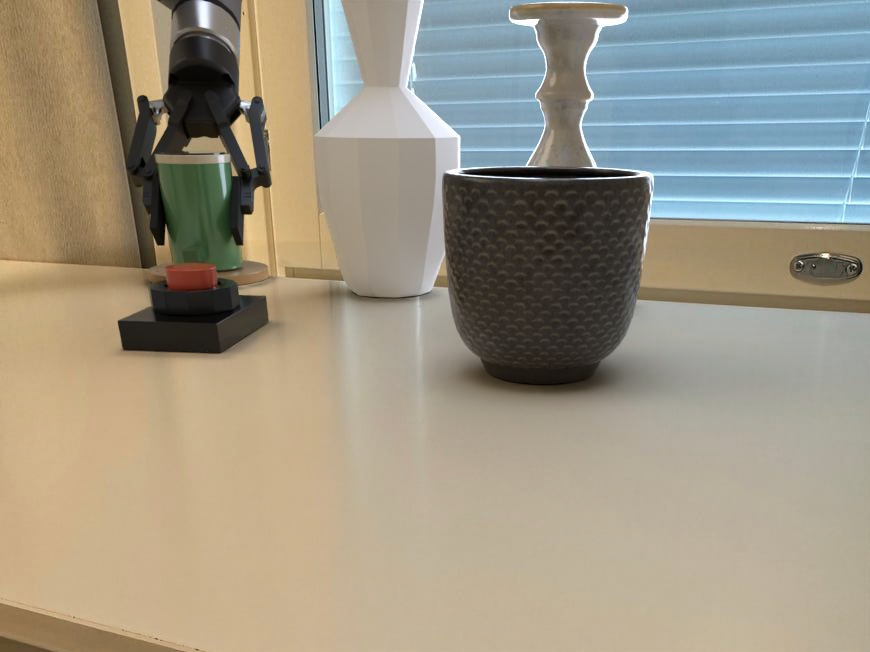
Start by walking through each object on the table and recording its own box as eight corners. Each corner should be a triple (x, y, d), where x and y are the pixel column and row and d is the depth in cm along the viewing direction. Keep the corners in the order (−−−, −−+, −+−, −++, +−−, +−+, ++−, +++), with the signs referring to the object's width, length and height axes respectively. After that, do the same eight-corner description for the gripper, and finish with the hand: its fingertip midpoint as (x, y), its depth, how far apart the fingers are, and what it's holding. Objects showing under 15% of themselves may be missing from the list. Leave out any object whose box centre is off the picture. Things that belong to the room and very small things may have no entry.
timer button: (160, 293, 71) (156, 269, 70) (180, 284, 74) (176, 262, 73) (208, 294, 71) (204, 271, 70) (226, 286, 74) (223, 263, 73)
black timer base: (122, 349, 70) (111, 296, 68) (183, 318, 80) (175, 271, 78) (220, 353, 69) (212, 298, 67) (269, 321, 79) (263, 273, 77)
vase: (380, 309, 84) (365, -17, 71) (299, 289, 93) (272, -3, 80) (490, 291, 92) (493, -3, 80) (405, 275, 101) (396, 8, 89)
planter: (420, 356, 68) (414, 167, 62) (582, 343, 73) (593, 164, 66) (485, 405, 57) (487, 180, 50) (672, 386, 61) (697, 176, 55)
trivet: (128, 285, 94) (126, 275, 94) (177, 267, 105) (176, 258, 105) (246, 289, 93) (245, 279, 92) (284, 269, 104) (283, 260, 104)
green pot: (181, 260, 102) (164, 150, 96) (249, 260, 102) (235, 150, 96) (156, 277, 92) (135, 155, 86) (231, 277, 92) (215, 155, 86)
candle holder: (476, 300, 88) (478, 7, 76) (553, 288, 94) (565, 15, 82) (556, 318, 81) (572, -3, 69) (633, 303, 87) (659, 7, 75)
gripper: (301, 91, 103) (299, 260, 98) (123, 89, 102) (111, 260, 97) (291, 33, 96) (288, 212, 91) (99, 30, 95) (84, 211, 90)
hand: (197, 236), depth 94 cm, fingers closed on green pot, 8 cm apart
